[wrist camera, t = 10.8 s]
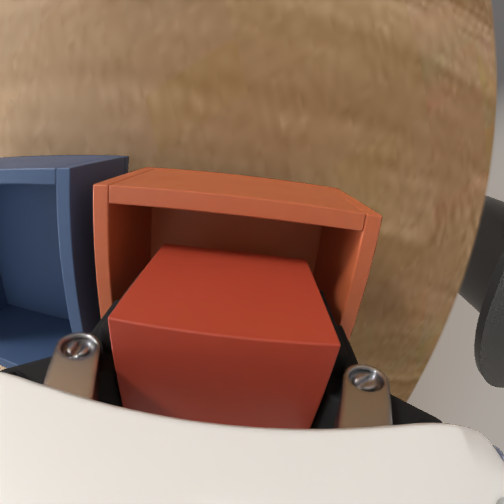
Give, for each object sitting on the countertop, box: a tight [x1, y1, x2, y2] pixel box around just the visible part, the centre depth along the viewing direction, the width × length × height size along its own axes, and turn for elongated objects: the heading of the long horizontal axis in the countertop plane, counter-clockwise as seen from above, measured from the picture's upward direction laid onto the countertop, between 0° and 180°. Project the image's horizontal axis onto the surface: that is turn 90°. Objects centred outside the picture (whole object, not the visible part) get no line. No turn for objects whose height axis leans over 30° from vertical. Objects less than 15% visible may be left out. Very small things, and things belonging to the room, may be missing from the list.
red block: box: [108, 243, 341, 429], centre depth 9 cm, size 5×5×5 cm
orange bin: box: [93, 167, 382, 341], centre depth 13 cm, size 9×9×6 cm
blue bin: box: [0, 155, 129, 368], centre depth 13 cm, size 10×10×6 cm
